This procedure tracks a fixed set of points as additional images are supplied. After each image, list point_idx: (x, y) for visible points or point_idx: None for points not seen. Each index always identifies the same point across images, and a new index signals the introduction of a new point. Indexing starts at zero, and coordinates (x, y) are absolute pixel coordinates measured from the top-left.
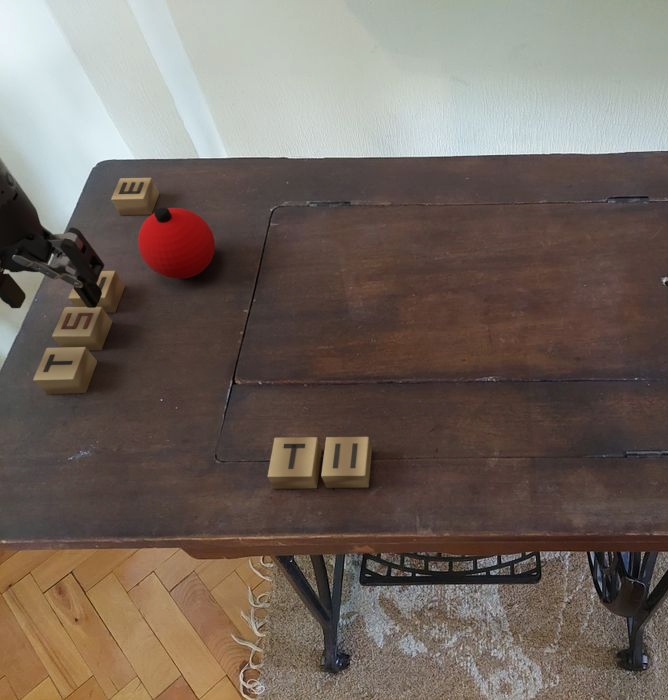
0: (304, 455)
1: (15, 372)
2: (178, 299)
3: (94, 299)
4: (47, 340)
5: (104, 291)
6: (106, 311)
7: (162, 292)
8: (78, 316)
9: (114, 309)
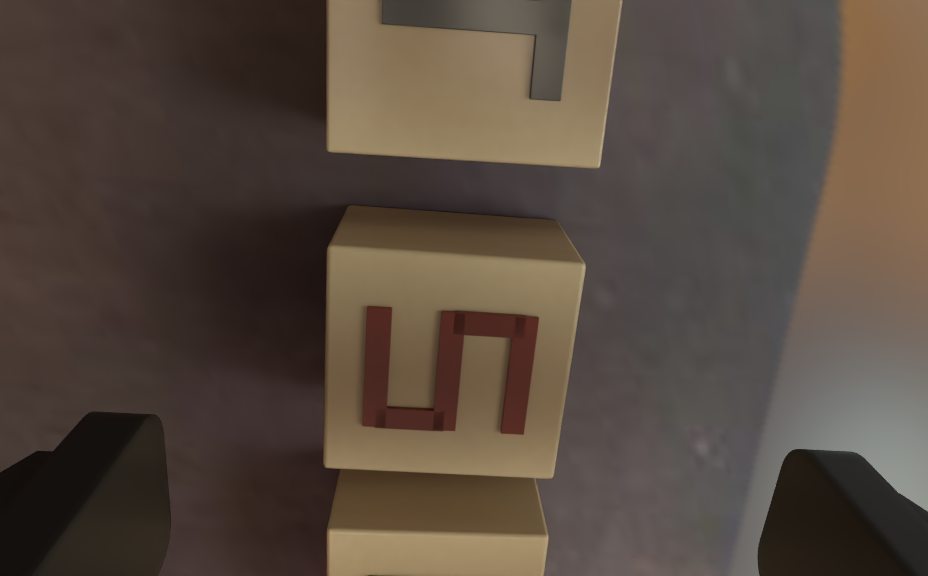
0: None
1: (807, 91)
2: None
3: (5, 489)
4: (665, 299)
5: (341, 570)
6: None
7: None
8: (446, 404)
9: None
